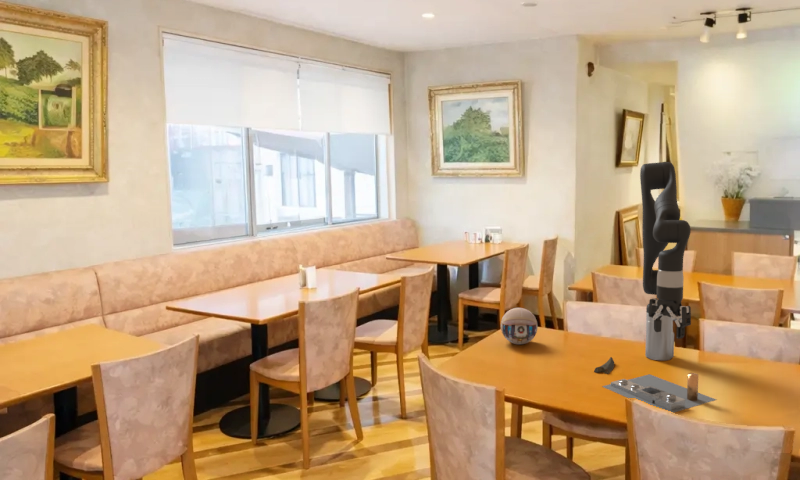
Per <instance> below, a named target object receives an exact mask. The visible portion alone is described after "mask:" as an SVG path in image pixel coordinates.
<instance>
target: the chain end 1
mask: <svg viewBox="0 0 800 480" xmlns="http://www.w3.org/2000/svg"><path fill="white" fill-rule="evenodd" d="M628 380H629V379H626V378H622V379H618V380H614V381H611V382H610V384H611V386H613V387H615V388H618V389H620V390H622V391H625V392H627V393H629V394H632V395H634V396H636V397H639V398H641V399H643V400H646V401H648V402H650V403H655V401H654V400H652V399H650V398H647V397H645V396H643V395H640V394H638V393H636V389H639V388H643V386H641V385H638V384H636V383H633V382H631V381H628ZM647 393H650V394H655V392H653V391H648V392H647Z"/></svg>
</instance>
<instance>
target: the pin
mask: <svg viewBox="0 0 800 480" xmlns="http://www.w3.org/2000/svg"><path fill="white" fill-rule="evenodd" d="M686 382H687V383H686V385H687V387H686V388H687V399H688V400H690V401H697V400H698V393H699V374H698V373H696V372H688V373H687V381H686Z"/></svg>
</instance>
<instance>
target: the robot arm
mask: <svg viewBox="0 0 800 480" xmlns="http://www.w3.org/2000/svg"><path fill="white" fill-rule="evenodd" d="M675 169H676V168H675V166H674V164H673V163H672V162H670V161H662V162H661V161H660V162H651V163H644V164H642V166H641V167H640V172H639V179H640V181H639V182H640V191H641V200H642V203H641V204H642V223H641V224H642V247H643V248H642V249H643V265H642V266H643V270H642V289H643V291H644V293H645V294H647V295H654V296H656V298H650V299H649V300H648V301H649V302H648V303H647V305H646V311H645V312H646V313H645V315H646V316H645V317H646V321H645V357H646V358H647V359H650V360H654V361H670V360H672V359H673V358H674V357H675V356H674V355H675V352H674V351H675V332H674V330H673V327H674V322H675V324H676V339H678V340H680V339H683V338H684V337H685V330H686V329H685V327H688V326H691V324H692V319H691V318H692V316H691V315H692V310H691V309H692V308H691V306H690V305H687V306H686V305H682V301H683V299H684V257H685V256H684V255H685V250H686V247H687V244H688V241H689V239H690V236H691V233H692V232H691V231H692V228H691V225H690V224H689V222H688V221H686V220H685V219H681V213H680V208H679V205H678V204H679V203H678V199H677V198H678V197H677V196H678V195H677V193H678V191H677V175H676V174H677V173H676V170H675ZM654 190H662V191H661V192H660V193H659V195H658V196H657V197H656V198H654V197H653V195H652V191H654ZM668 244H675V246H673V247H672V248H670V249H666V248H667V246H668ZM656 261H658V265H657V269H653V268H654V264H655V263H656Z"/></svg>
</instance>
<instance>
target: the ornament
mask: <svg viewBox="0 0 800 480" xmlns="http://www.w3.org/2000/svg"><path fill="white" fill-rule="evenodd" d="M536 318H537V317H536V316H535V315H534V314H533V313H532V312H531V311H530V310H529V309H528V308H527V309H526V308H523V307H514V308H511V309H510V310H507V311H506V312H505V313H504V315H503V316H502V318H501V321H500V331H501V333H502V335H503V337H504V338H505V339H506V341H508V342H510V343H511V344H514V345H524V344H525V345H526V344H528V343H529V342H531V341H533V339H534V338H535V337H536V335H537V332H538V321H537V319H536Z"/></svg>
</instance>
